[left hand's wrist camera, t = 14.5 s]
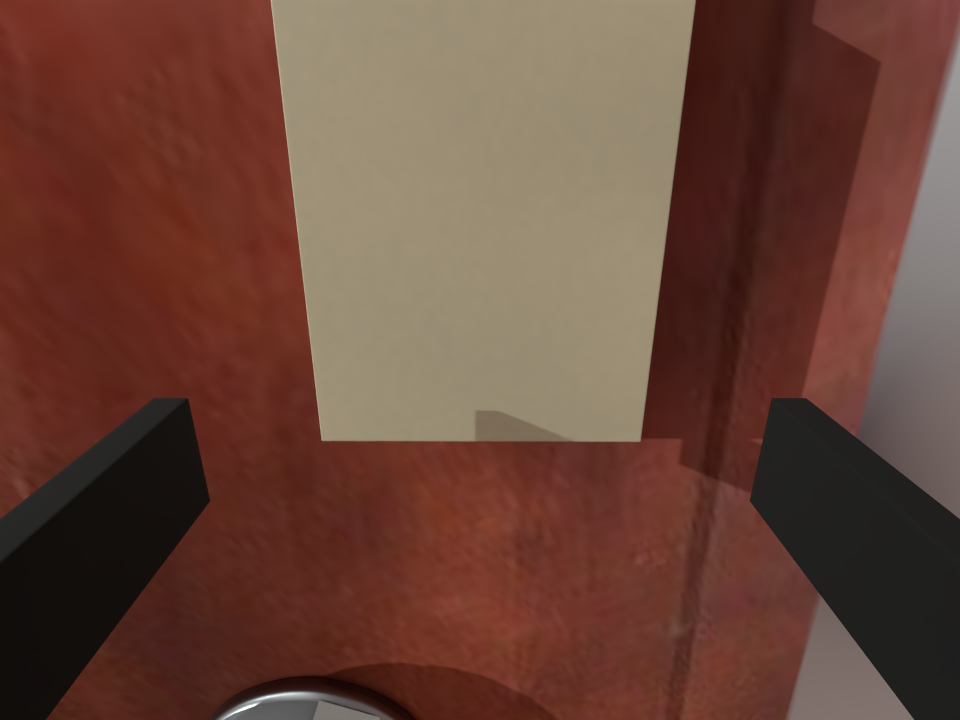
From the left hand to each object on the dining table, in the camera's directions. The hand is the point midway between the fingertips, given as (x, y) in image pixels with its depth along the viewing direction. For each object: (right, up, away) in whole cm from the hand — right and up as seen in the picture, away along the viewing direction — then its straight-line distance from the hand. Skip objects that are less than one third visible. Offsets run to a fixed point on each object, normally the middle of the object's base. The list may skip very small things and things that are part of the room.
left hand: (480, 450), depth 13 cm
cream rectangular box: (0, +10, +11) cm, 15 cm away
